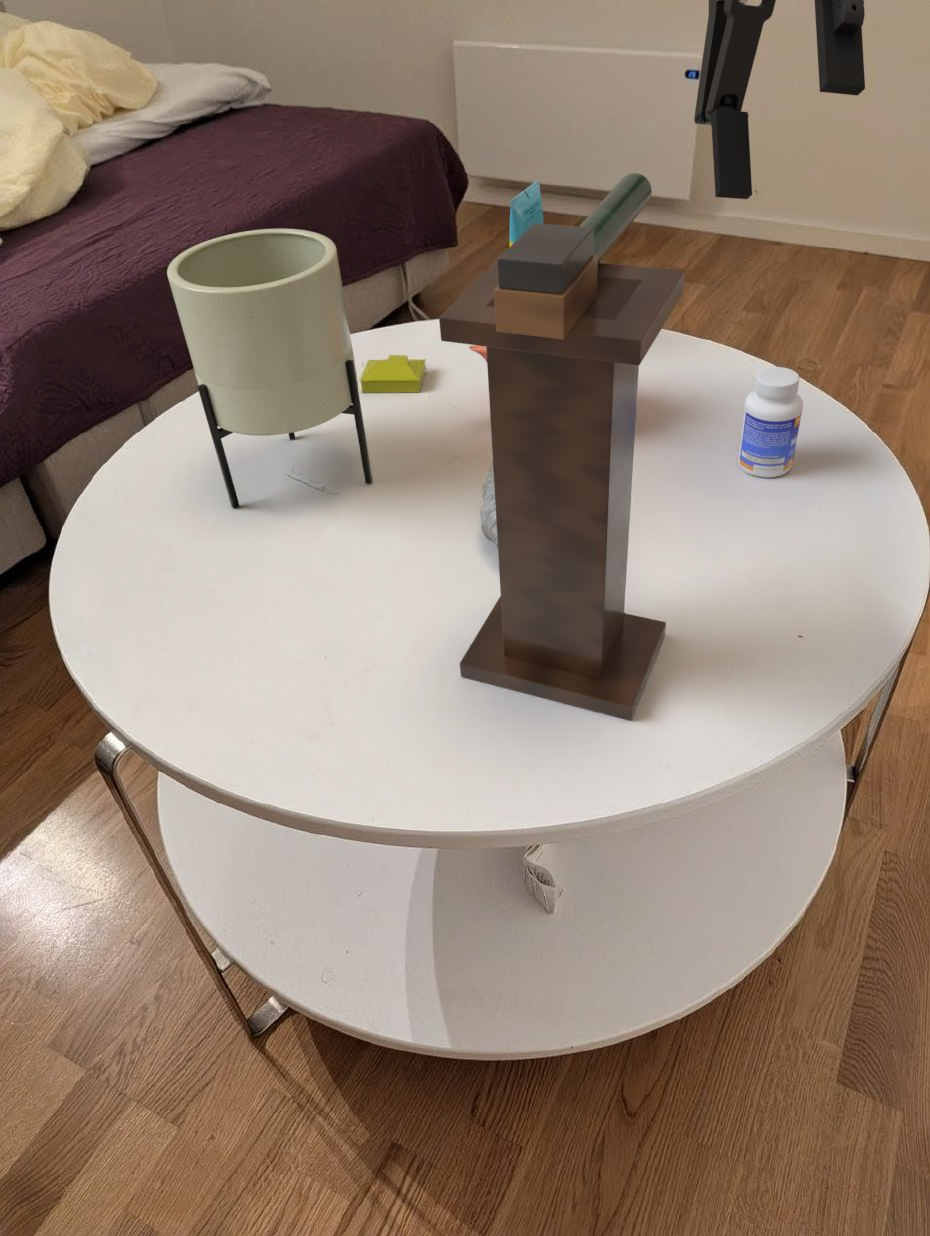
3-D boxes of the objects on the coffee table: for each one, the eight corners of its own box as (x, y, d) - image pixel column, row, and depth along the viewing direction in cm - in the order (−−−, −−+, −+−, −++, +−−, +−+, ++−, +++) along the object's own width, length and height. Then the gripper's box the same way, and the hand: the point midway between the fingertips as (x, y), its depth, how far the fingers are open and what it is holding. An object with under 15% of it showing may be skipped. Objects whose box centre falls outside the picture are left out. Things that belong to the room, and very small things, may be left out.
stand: (664, 635, 75) (701, 271, 56) (631, 721, 69) (659, 342, 49) (506, 599, 80) (487, 252, 60) (460, 676, 74) (422, 315, 54)
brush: (606, 207, 65) (608, 146, 63) (662, 211, 64) (666, 148, 61) (495, 331, 51) (492, 260, 49) (563, 340, 50) (564, 266, 47)
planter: (343, 525, 90) (300, 295, 75) (201, 507, 94) (133, 286, 79) (397, 445, 101) (368, 230, 86) (267, 432, 105) (217, 224, 90)
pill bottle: (797, 477, 91) (815, 388, 85) (742, 480, 91) (756, 391, 85) (784, 448, 95) (800, 361, 89) (731, 451, 95) (743, 364, 89)
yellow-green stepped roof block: (347, 399, 110) (343, 377, 108) (362, 363, 116) (359, 342, 115) (430, 398, 108) (427, 376, 106) (440, 362, 115) (438, 341, 113)
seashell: (468, 553, 81) (484, 463, 78) (477, 517, 94) (491, 439, 91) (539, 566, 81) (558, 477, 78) (539, 529, 94) (555, 451, 91)
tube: (522, 336, 119) (516, 178, 107) (557, 339, 118) (556, 180, 105) (502, 361, 114) (494, 199, 102) (539, 365, 113) (536, 202, 100)
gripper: (645, -25, 76) (657, 226, 76) (824, -343, 52) (845, 23, 51) (727, -15, 78) (740, 231, 77) (938, -319, 54) (960, 36, 53)
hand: (782, 149), depth 64 cm, fingers open, 13 cm apart
